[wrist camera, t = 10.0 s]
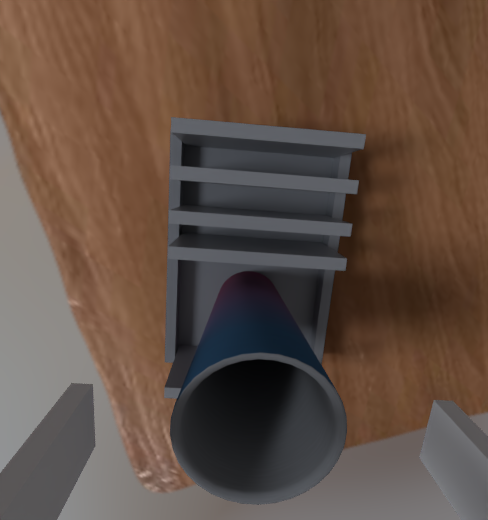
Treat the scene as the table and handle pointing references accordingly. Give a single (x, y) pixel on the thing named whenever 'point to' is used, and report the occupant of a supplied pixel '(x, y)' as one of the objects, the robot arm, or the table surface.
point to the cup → (256, 401)
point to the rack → (253, 223)
